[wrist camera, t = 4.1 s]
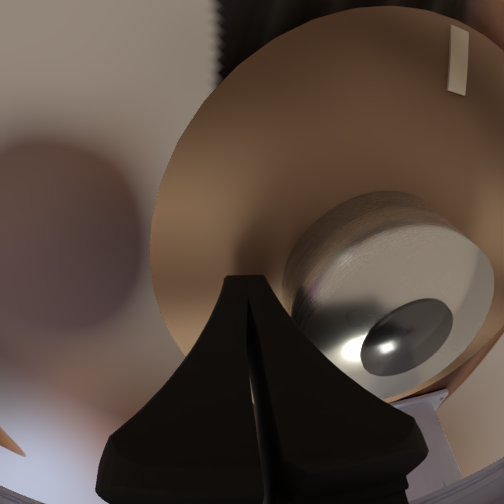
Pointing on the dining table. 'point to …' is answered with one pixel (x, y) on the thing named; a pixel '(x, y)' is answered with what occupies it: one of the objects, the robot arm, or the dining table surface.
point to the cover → (387, 290)
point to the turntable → (332, 153)
